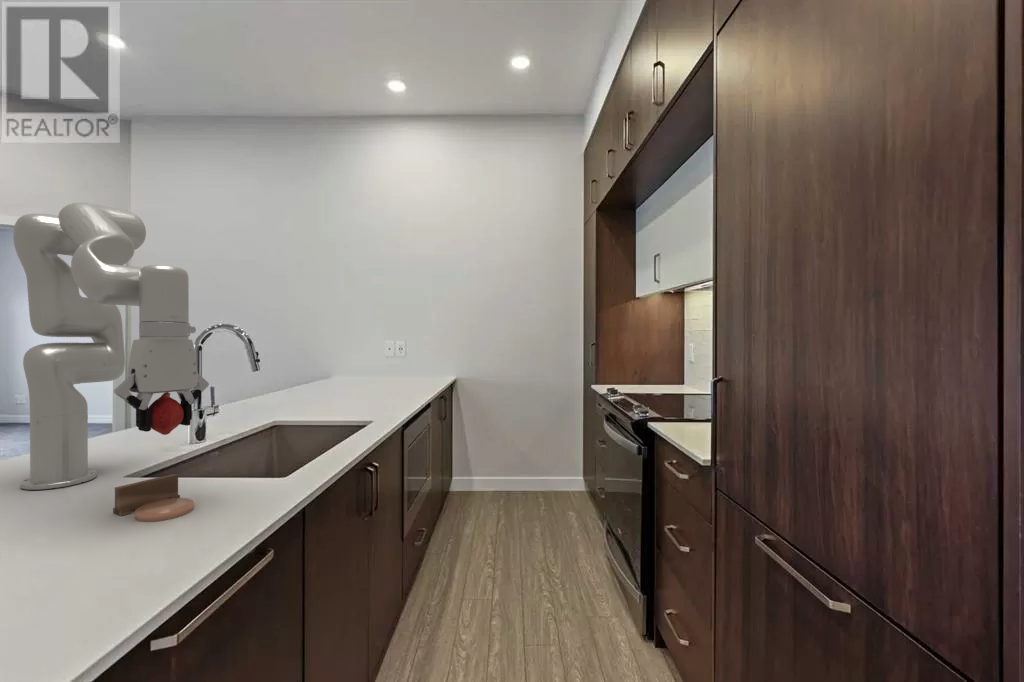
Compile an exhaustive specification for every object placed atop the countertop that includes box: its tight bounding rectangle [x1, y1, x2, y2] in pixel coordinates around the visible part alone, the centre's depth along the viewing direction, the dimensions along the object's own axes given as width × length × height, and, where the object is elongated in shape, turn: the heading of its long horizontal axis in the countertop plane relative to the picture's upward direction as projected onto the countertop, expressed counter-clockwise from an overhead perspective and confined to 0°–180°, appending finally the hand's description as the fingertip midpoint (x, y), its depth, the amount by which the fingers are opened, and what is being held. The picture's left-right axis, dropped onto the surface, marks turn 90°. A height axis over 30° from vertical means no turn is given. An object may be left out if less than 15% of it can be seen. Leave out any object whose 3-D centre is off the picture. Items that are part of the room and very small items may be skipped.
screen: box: [112, 473, 181, 517], centre depth 93 cm, size 3×10×5 cm, turn 151°
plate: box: [134, 497, 195, 523], centre depth 90 cm, size 9×9×1 cm
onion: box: [148, 392, 184, 436], centre depth 89 cm, size 6×6×8 cm
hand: (164, 426), depth 89 cm, fingers closed on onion, 5 cm apart
